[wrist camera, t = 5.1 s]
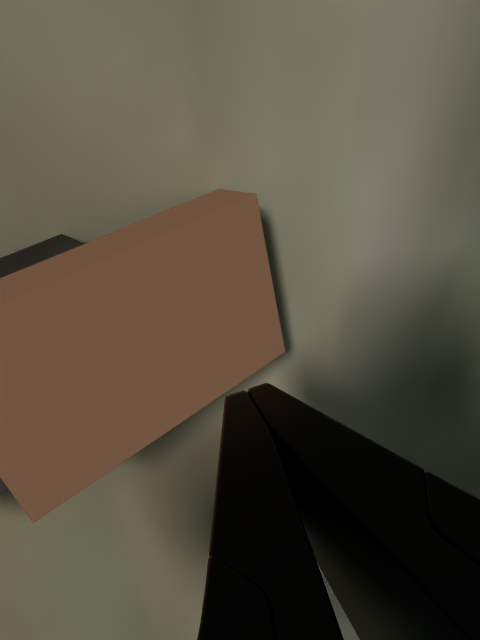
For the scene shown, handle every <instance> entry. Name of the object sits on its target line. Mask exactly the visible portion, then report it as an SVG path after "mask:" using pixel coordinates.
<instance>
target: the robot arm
mask: <svg viewBox="0 0 480 640" xmlns="http://www.w3.org/2000/svg"><path fill="white" fill-rule="evenodd" d="M209 556H210V558H209V559H208V567H207V577H206V586H205V593H204V601H203V608H202V615H201V623H200V628H199V633H198V638H197V640H344V639H343V636H342V633H341V630H340V628H339V625H338V622H337V619H336V616H335V613H334V610H333V607H332V604H331V602H330V599H329V596H328V593H327V590H326V587H325V584H324V581H323V578H322V576H321V573H320V570H319V567H318V565H319V566H320V568H321V570H322V572H323V574H324V575H325V577H326V579H327V581H328V583H329V585H330V586H331V588H332V590H333V592H334V594H335V595H336V597H337V599H338V601H339V603H340V604H341V606H342V608H343V610H344V612H345V613H346V615H347V617H348V619H349V621H350V622H351V624H352V626H353V628H354V630H355V632H356V633H357V635H358V637H359V639H360V640H480V499H478V498H476V497H474V496H472V495H471V494H469V493H467V492H465V491H463V490H461V489H459V488H457V487H455V486H453V485H452V484H450V483H448V482H446V481H444V480H442V479H441V478H439V477H437V476H435V475H433V474H432V473H430V472H425V473H424V470H423V469H422V468H420V467H419V466H417V465H415V464H413V463H411V462H410V461H408V460H406V459H404V458H402V457H401V456H399V455H397V454H395V453H393V452H392V451H390V450H388V449H386V448H384V447H383V446H381V445H379V444H377V443H375V442H374V441H372V440H370V439H368V438H366V437H365V436H363V435H361V434H359V433H357V432H356V431H354V430H352V429H350V428H348V427H347V426H345V425H343V424H341V423H339V422H338V421H336V420H334V419H332V418H330V417H329V416H327V415H325V414H323V413H321V412H320V411H318V410H316V409H314V408H312V407H311V406H309V405H307V404H305V403H303V402H302V401H300V400H298V399H296V398H294V397H293V396H291V395H289V394H287V393H285V392H284V391H282V390H280V389H278V388H276V387H275V386H273V385H271V384H268V383H264V384H261V385H258V386H255V387H252V388H250V389H249V390H248V392H246V391H240V392H237V393H234V394H231V395H228V396H227V397H226V398H225V403H224V413H223V423H222V433H221V442H220V452H219V462H218V472H217V482H216V492H215V501H214V511H213V521H212V531H211V541H210V550H209ZM317 563H318V564H317Z"/></svg>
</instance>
